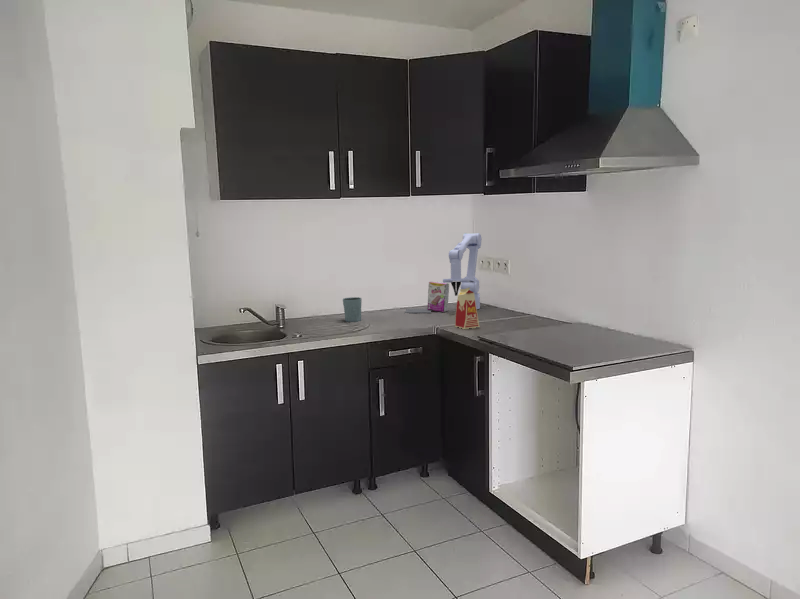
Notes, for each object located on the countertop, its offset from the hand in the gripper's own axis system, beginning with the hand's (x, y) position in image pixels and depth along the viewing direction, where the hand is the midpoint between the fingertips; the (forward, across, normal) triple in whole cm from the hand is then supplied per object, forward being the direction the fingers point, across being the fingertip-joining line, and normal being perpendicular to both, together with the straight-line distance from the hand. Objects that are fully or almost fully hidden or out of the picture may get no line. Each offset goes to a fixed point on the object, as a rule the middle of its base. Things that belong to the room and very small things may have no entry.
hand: (456, 295), depth 327 cm
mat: (+10, -22, +9) cm, 25 cm away
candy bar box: (+10, -11, +9) cm, 17 cm away
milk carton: (+10, +4, -40) cm, 41 cm away
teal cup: (+10, -56, -18) cm, 60 cm away
